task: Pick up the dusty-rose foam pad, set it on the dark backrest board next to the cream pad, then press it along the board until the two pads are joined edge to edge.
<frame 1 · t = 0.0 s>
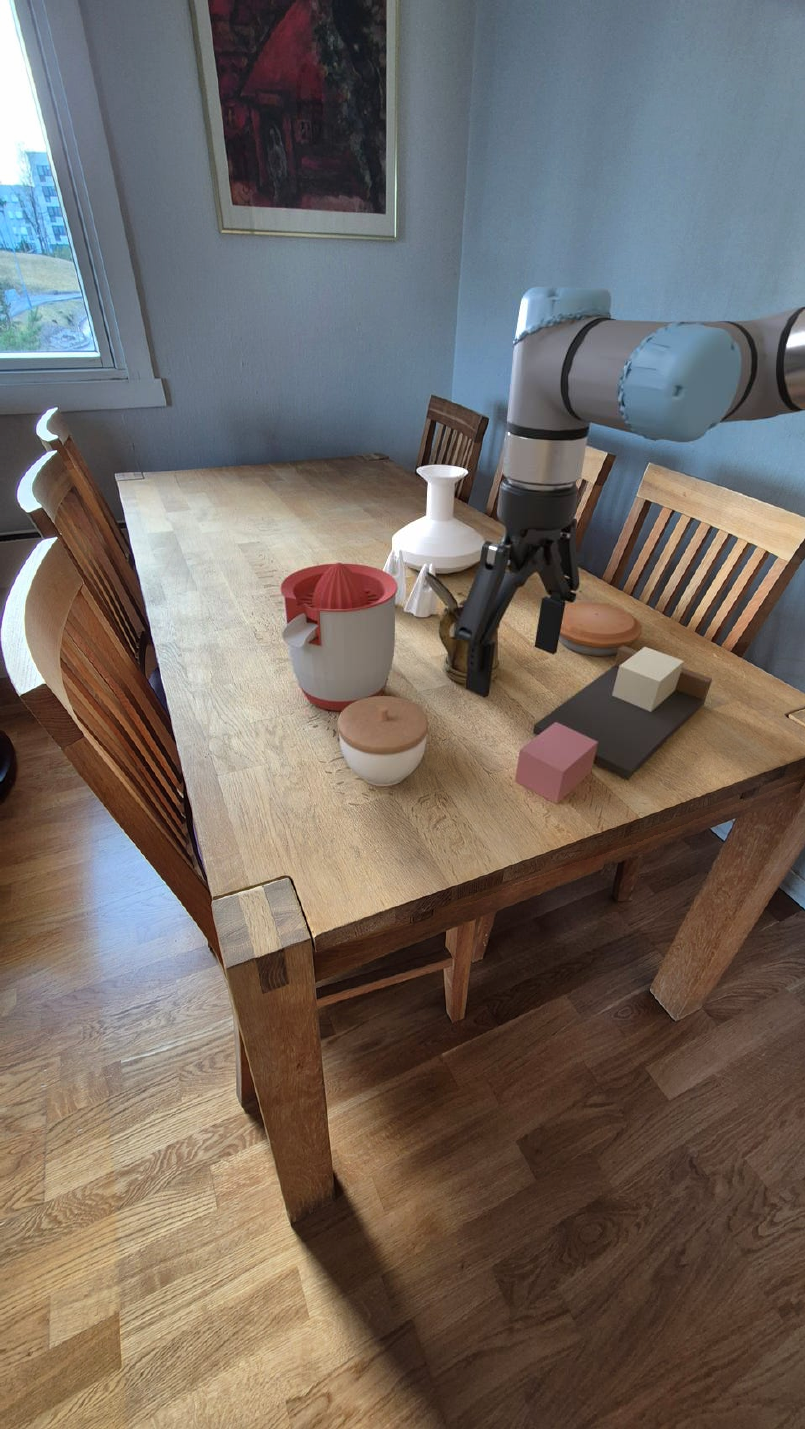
hand: (513, 670, 72), 14 cm above the table, tool pointing down, fingers open, 13 cm apart
shaker set: (404, 610, 117), on the table
backrest board: (621, 718, 89), on the table
trinket box: (383, 771, 78), on the table
pie: (590, 641, 108), on the table
citrus juicer: (339, 694, 93), on the table
cream pad: (643, 692, 92), point 1 cm above the table, touching backrest board
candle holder: (437, 564, 136), on the table
wooden mug: (459, 675, 98), on the table
rose pad: (553, 777, 78), on the table
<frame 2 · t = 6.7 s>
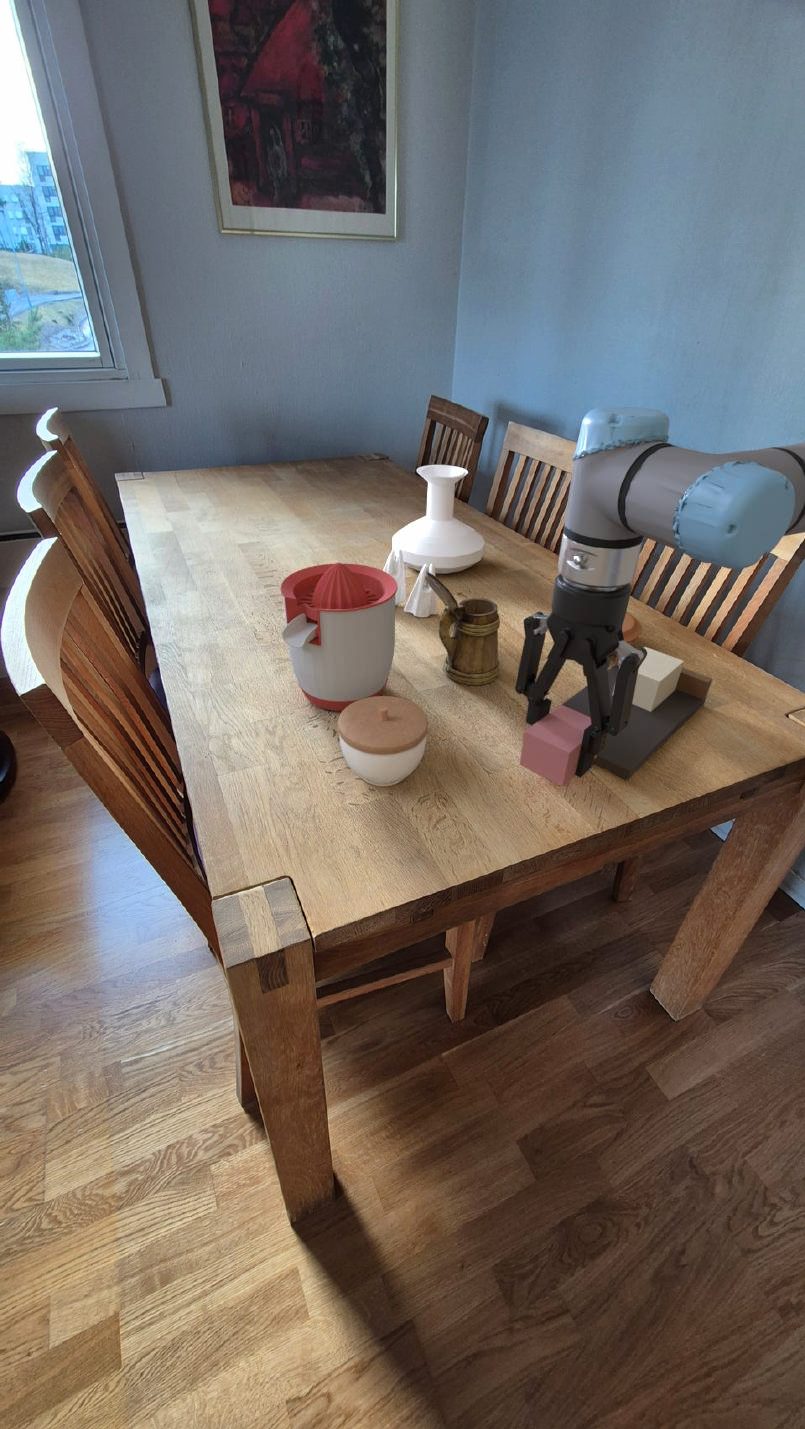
hand: (558, 758, 76), 3 cm above the table, tool pointing down, fingers closed on rose pad, 6 cm apart
rose pad: (558, 760, 76), point 3 cm above the table, touching gripper
everything else where it was.
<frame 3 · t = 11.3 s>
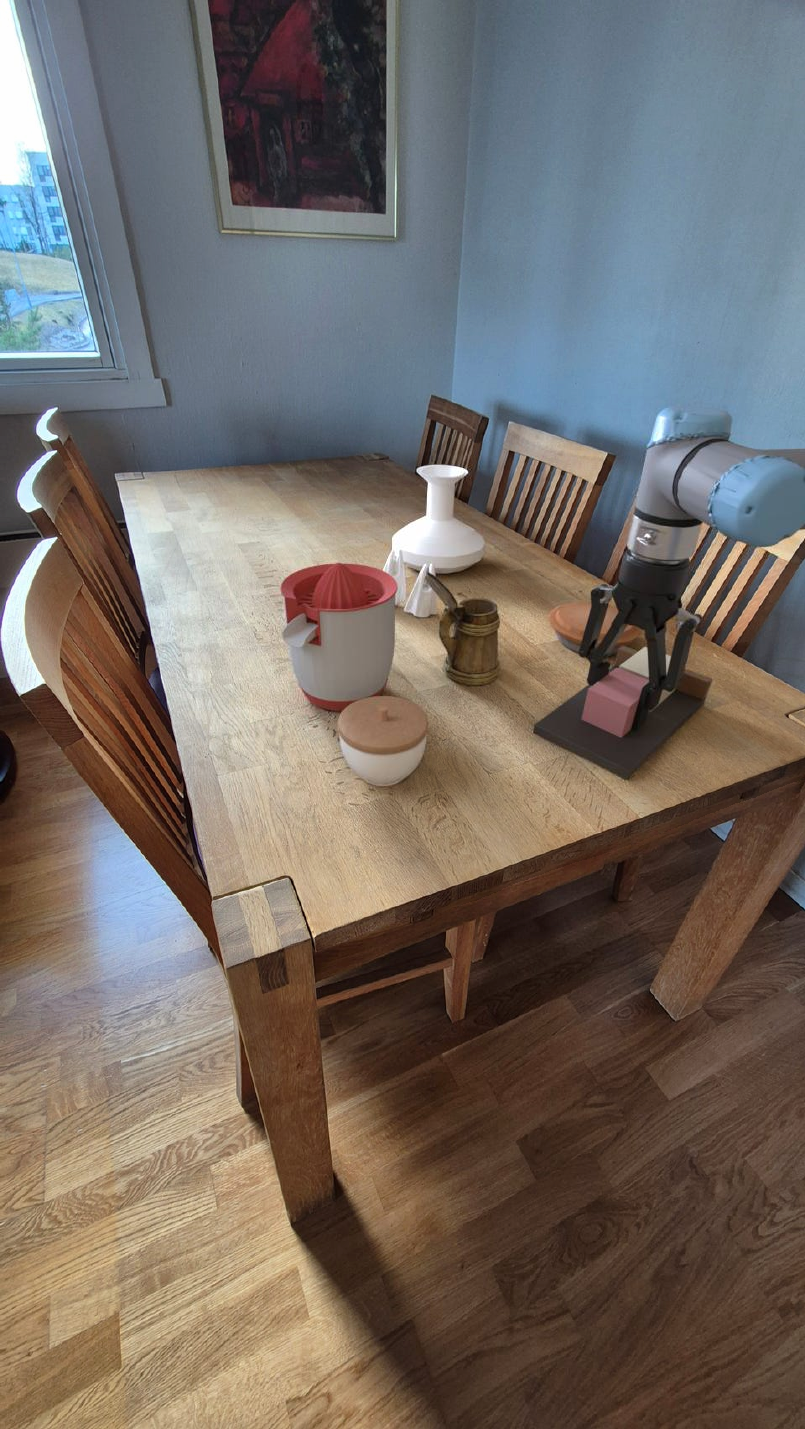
hand: (615, 714, 86), 2 cm above the table, tool pointing down, fingers closed on rose pad, 6 cm apart
rose pad: (615, 716, 87), point 2 cm above the table, touching backrest board, gripper
everything else where it was.
when the fingers open (2 cm above the table, at t = 11.4 s): rose pad stays where it is, resting on backrest board.
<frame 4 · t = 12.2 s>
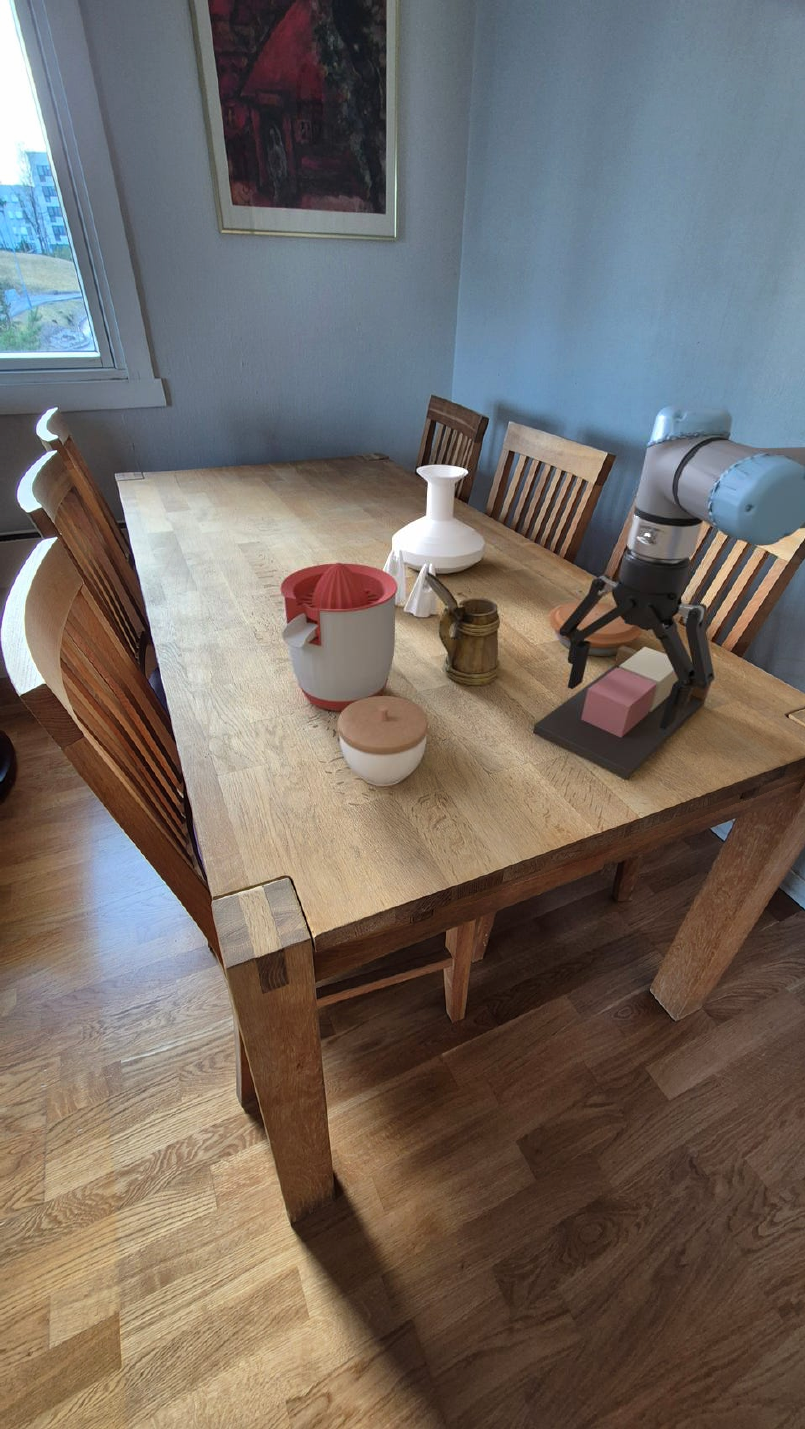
hand: (618, 703, 85), 4 cm above the table, tool pointing down, fingers open, 13 cm apart
rose pad: (614, 716, 87), point 1 cm above the table, touching backrest board
everything else where it was.
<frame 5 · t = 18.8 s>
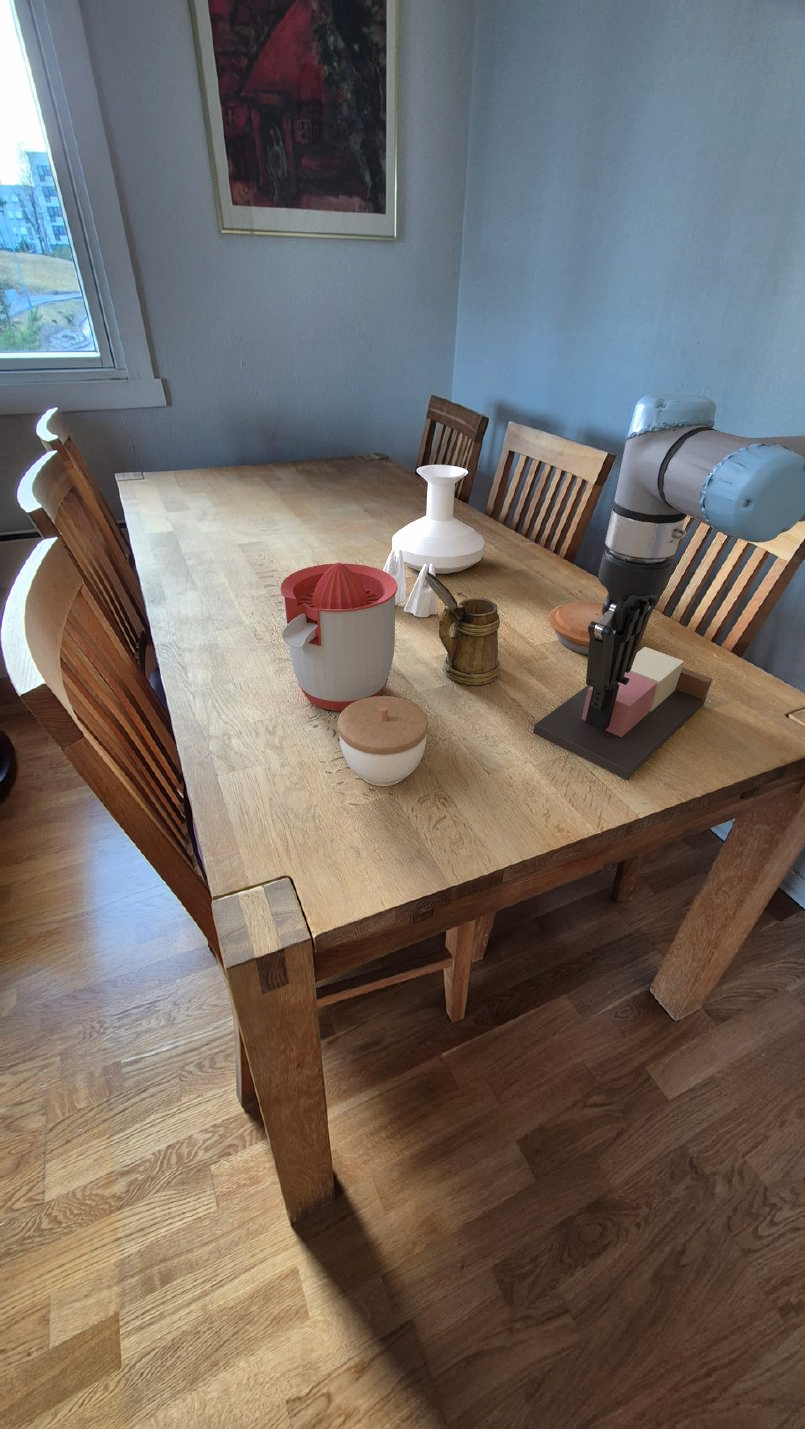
hand: (596, 725, 82), 3 cm above the table, tool pointing down, fingers closed
rose pad: (615, 716, 87), point 2 cm above the table, touching gripper
everything else where it was.
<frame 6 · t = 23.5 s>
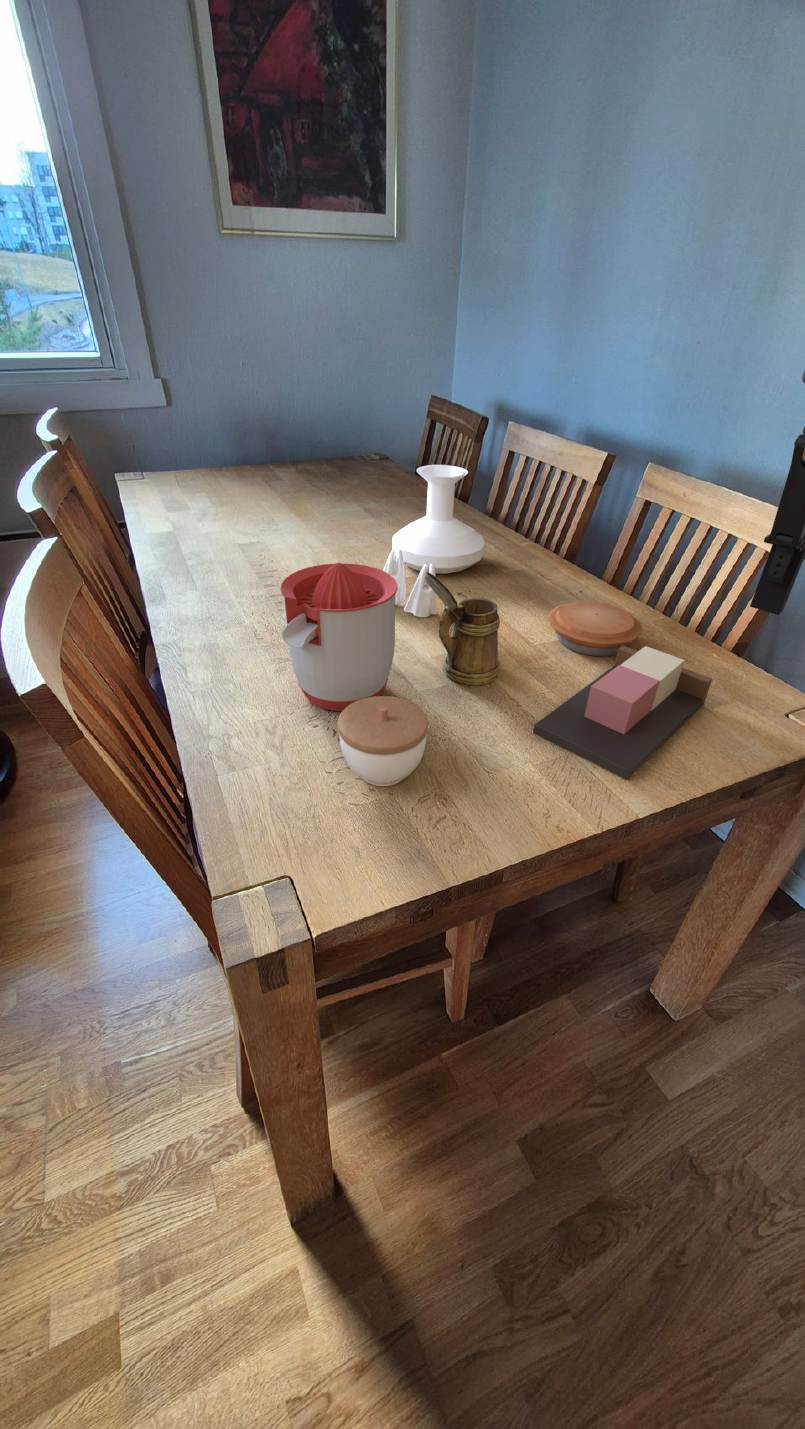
hand: (766, 608, 62), 24 cm above the table, tool pointing down, fingers closed
rose pad: (617, 713, 87), point 1 cm above the table, touching backrest board
everything else where it was.
at the end: rose pad 0.1 cm from the target spot on the backrest board, point 1.5 cm above the backrest board's base; rose pad 8.0 cm from the cream pad (horizontally); rose pad tilted 0° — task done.
